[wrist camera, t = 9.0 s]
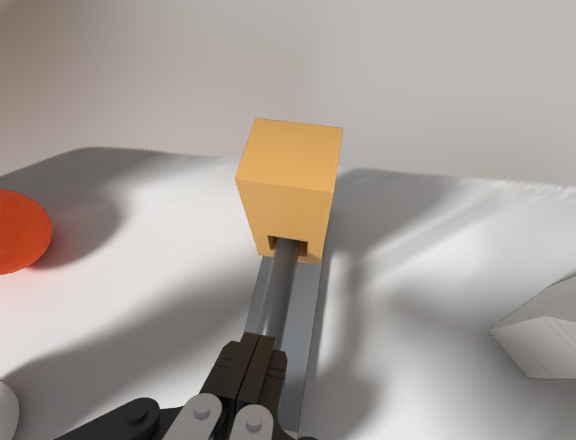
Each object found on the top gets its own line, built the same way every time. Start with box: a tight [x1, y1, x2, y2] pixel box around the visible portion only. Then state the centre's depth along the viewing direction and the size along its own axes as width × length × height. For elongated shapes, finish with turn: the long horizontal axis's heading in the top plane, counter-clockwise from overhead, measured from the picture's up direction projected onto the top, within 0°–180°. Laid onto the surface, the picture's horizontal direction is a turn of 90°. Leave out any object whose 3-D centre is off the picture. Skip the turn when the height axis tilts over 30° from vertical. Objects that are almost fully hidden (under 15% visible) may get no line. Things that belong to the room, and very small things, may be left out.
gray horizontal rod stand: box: [244, 226, 328, 440], centre depth 19 cm, size 20×5×9 cm, turn 169°
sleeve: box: [235, 118, 343, 265], centre depth 18 cm, size 4×5×10 cm
